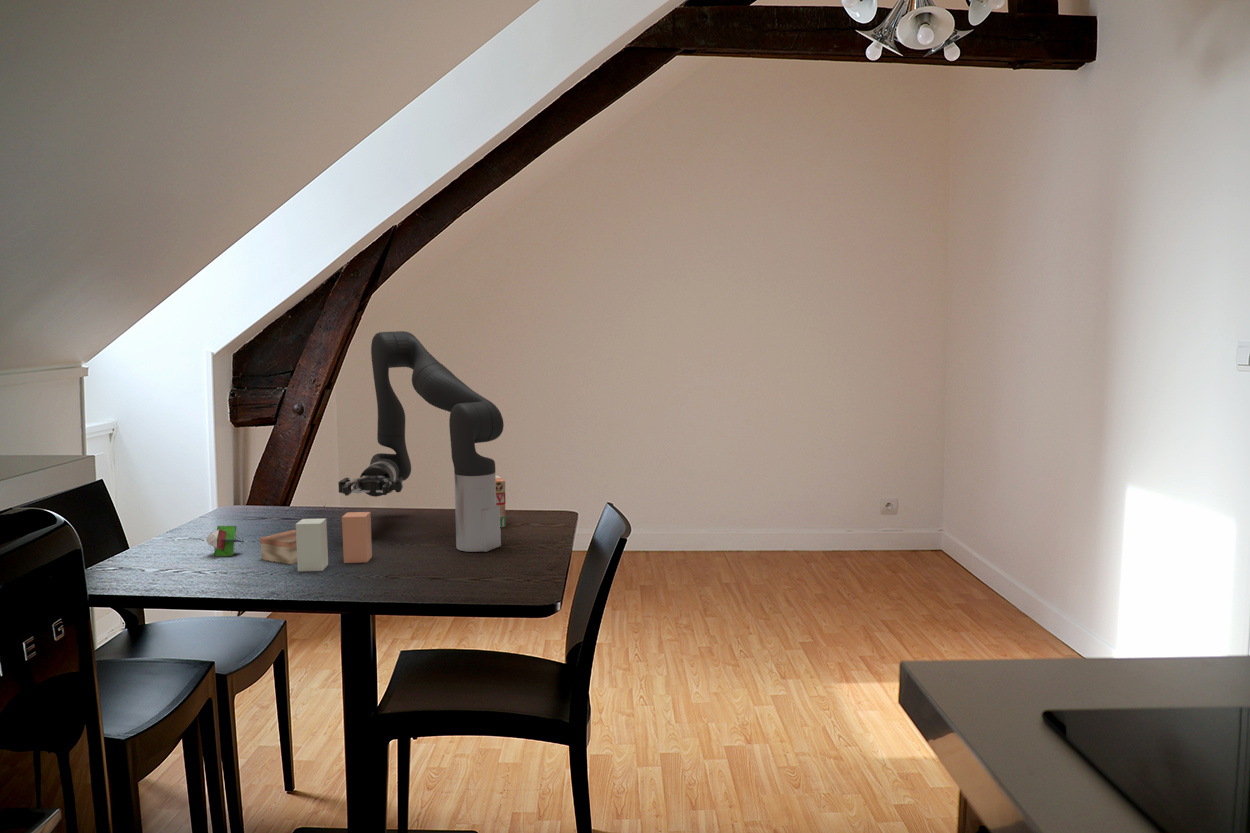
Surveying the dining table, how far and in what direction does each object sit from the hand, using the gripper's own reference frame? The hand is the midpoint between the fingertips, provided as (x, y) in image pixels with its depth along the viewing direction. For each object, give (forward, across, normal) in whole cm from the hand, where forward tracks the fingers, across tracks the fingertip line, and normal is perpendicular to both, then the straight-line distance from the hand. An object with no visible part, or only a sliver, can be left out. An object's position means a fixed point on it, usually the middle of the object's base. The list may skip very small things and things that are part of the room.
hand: (365, 490), depth 209 cm
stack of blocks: (-26, +25, +14) cm, 38 cm away
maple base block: (+8, -15, +13) cm, 21 cm away
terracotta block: (+12, 0, +13) cm, 17 cm away
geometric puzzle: (+4, -30, +14) cm, 33 cm away
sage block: (+18, -8, +13) cm, 23 cm away
